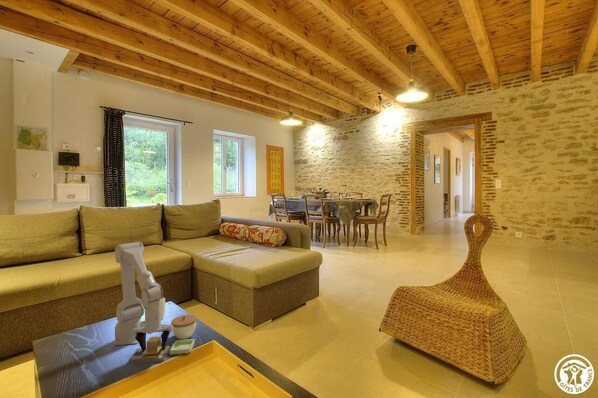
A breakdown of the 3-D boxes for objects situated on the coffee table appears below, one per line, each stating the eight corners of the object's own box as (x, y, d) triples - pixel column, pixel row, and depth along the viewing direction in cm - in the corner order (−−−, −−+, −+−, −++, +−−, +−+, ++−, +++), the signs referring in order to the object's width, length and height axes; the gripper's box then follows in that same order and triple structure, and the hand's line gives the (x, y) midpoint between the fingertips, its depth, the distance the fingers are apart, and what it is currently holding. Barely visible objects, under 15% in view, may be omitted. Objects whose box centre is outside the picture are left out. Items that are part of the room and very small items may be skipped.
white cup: (154, 323, 147) (153, 304, 147) (145, 320, 151) (145, 301, 151) (168, 317, 154) (168, 299, 153) (160, 314, 158) (159, 296, 158)
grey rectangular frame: (128, 363, 113) (128, 359, 113) (137, 352, 121) (137, 348, 121) (163, 360, 115) (163, 356, 115) (170, 349, 123) (170, 345, 123)
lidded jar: (180, 344, 127) (179, 323, 126) (167, 337, 133) (166, 317, 133) (201, 334, 135) (201, 314, 135) (188, 328, 142) (187, 309, 141)
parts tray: (169, 354, 119) (169, 350, 119) (175, 344, 127) (175, 340, 127) (190, 353, 120) (190, 348, 120) (194, 343, 128) (194, 338, 128)
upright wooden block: (147, 359, 116) (146, 342, 116) (151, 353, 120) (150, 337, 120) (157, 358, 116) (157, 341, 116) (161, 353, 120) (160, 336, 120)
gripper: (129, 322, 113) (130, 356, 113) (168, 319, 115) (169, 353, 115) (137, 314, 120) (138, 347, 120) (174, 312, 122) (175, 344, 122)
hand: (154, 349), depth 118 cm, fingers open, 7 cm apart
